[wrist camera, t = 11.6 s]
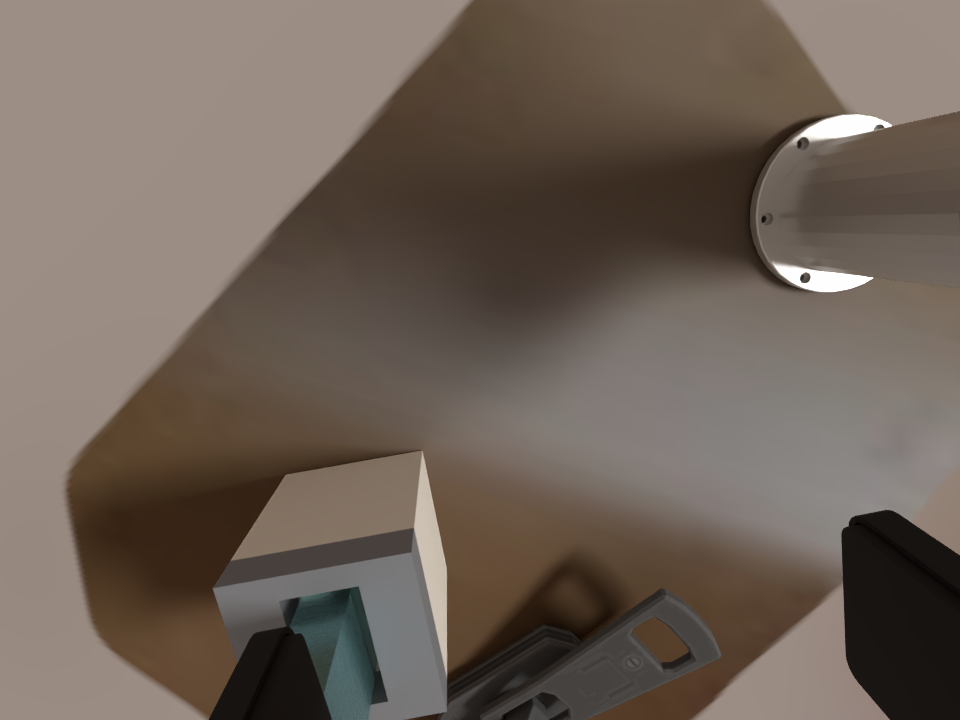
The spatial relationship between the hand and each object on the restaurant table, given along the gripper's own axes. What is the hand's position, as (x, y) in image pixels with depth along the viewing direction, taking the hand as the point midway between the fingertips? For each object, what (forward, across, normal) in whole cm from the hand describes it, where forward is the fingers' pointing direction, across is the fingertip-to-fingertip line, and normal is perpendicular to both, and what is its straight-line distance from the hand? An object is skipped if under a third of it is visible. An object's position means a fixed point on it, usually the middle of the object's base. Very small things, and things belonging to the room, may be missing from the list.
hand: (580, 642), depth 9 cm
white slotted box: (+33, +13, +15) cm, 38 cm away
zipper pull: (+33, 0, +31) cm, 46 cm away
